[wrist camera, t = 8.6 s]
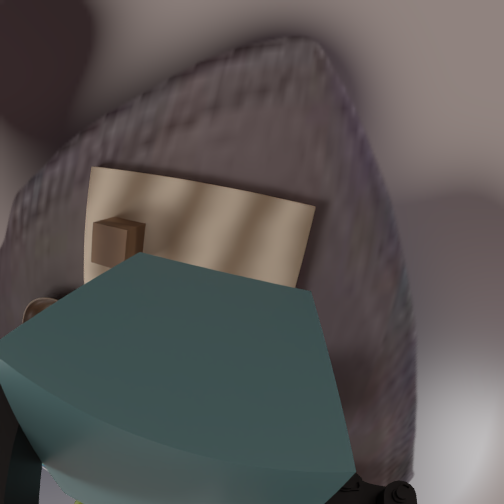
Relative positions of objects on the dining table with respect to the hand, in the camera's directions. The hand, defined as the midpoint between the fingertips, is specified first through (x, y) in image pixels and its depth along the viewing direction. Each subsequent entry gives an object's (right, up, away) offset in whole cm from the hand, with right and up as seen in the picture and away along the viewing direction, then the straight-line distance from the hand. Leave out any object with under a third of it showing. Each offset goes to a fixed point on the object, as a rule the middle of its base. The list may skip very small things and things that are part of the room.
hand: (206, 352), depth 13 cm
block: (-11, +6, +15) cm, 20 cm away
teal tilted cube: (0, 0, +1) cm, 1 cm away
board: (-5, +5, +16) cm, 17 cm away
